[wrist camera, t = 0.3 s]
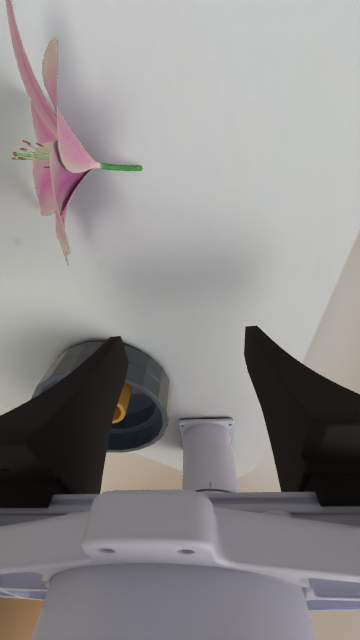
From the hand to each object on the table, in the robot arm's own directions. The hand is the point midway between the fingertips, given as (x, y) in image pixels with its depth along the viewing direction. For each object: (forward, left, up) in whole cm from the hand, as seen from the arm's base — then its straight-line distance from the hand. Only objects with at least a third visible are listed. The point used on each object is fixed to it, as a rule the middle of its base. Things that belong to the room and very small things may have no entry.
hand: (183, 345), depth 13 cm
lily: (+10, +7, -10) cm, 16 cm away
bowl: (-14, +11, -10) cm, 20 cm away
